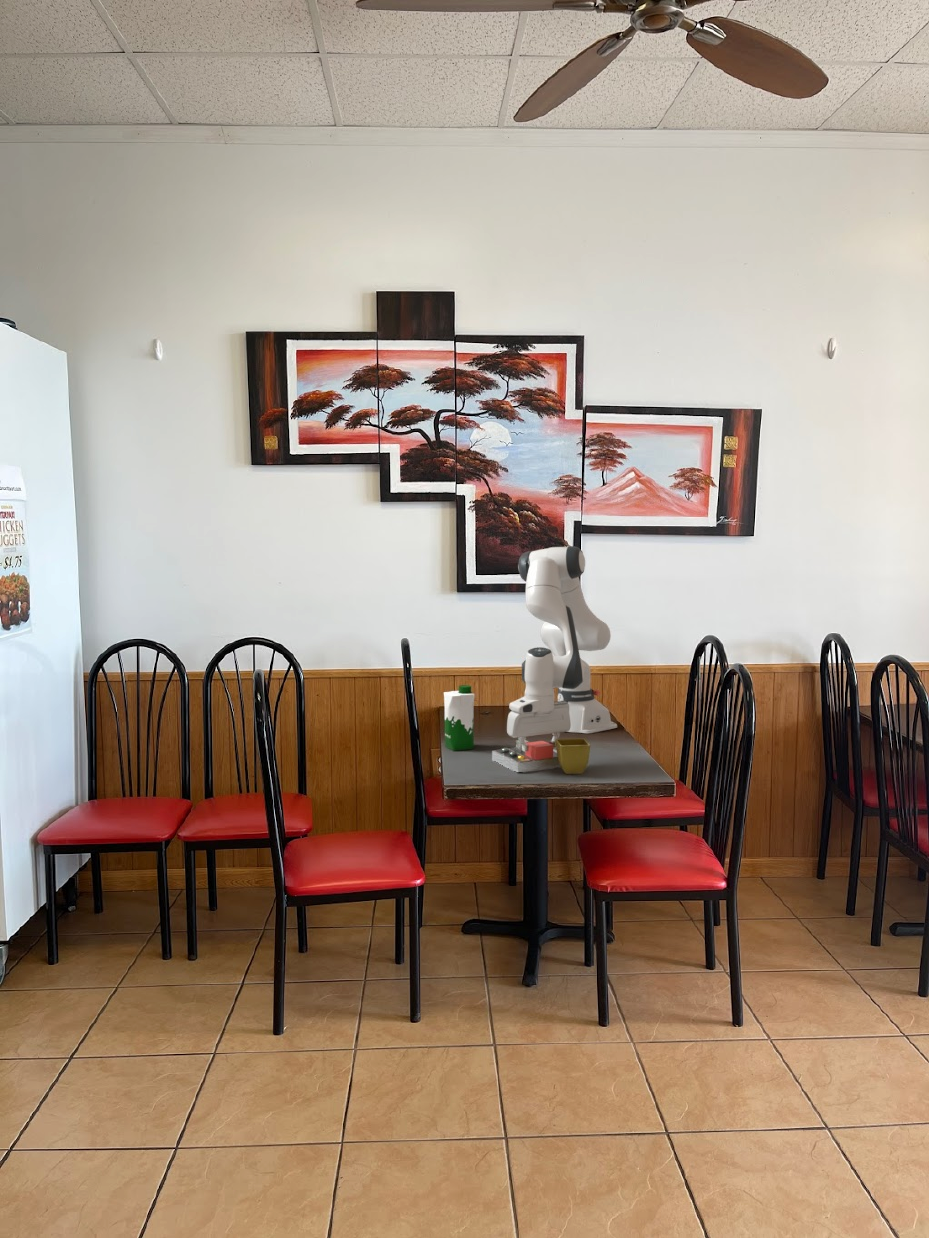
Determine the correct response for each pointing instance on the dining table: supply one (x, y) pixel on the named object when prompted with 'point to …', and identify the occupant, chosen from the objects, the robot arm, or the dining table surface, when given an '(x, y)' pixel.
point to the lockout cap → (539, 750)
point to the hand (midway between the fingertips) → (539, 748)
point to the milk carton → (459, 719)
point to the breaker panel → (523, 759)
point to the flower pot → (573, 755)
